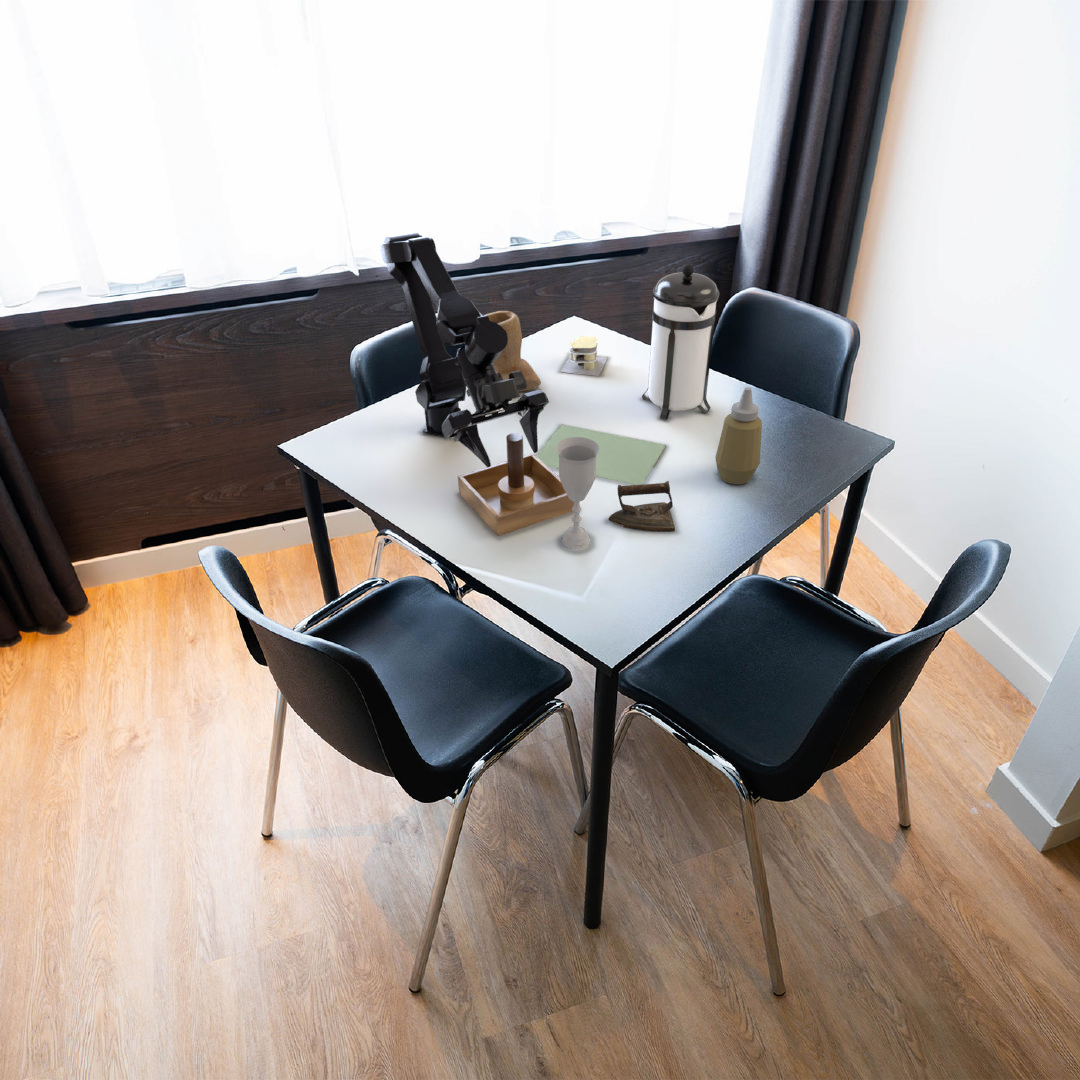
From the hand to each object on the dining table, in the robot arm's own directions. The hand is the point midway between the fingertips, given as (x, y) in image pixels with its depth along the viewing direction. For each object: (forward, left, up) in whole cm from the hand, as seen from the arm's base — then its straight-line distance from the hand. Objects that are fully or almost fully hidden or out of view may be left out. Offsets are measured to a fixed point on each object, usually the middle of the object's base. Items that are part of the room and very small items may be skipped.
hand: (513, 459), depth 146 cm
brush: (+1, -1, -8) cm, 8 cm away
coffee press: (+16, +46, -9) cm, 50 cm away
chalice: (+15, -8, -9) cm, 19 cm away
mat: (+9, +20, -9) cm, 24 cm away
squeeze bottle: (+35, +22, -9) cm, 42 cm away
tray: (+1, -1, -9) cm, 9 cm away
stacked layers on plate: (-8, +58, -9) cm, 59 cm away
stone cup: (-21, +43, -9) cm, 49 cm away
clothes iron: (+23, +2, -9) cm, 24 cm away
